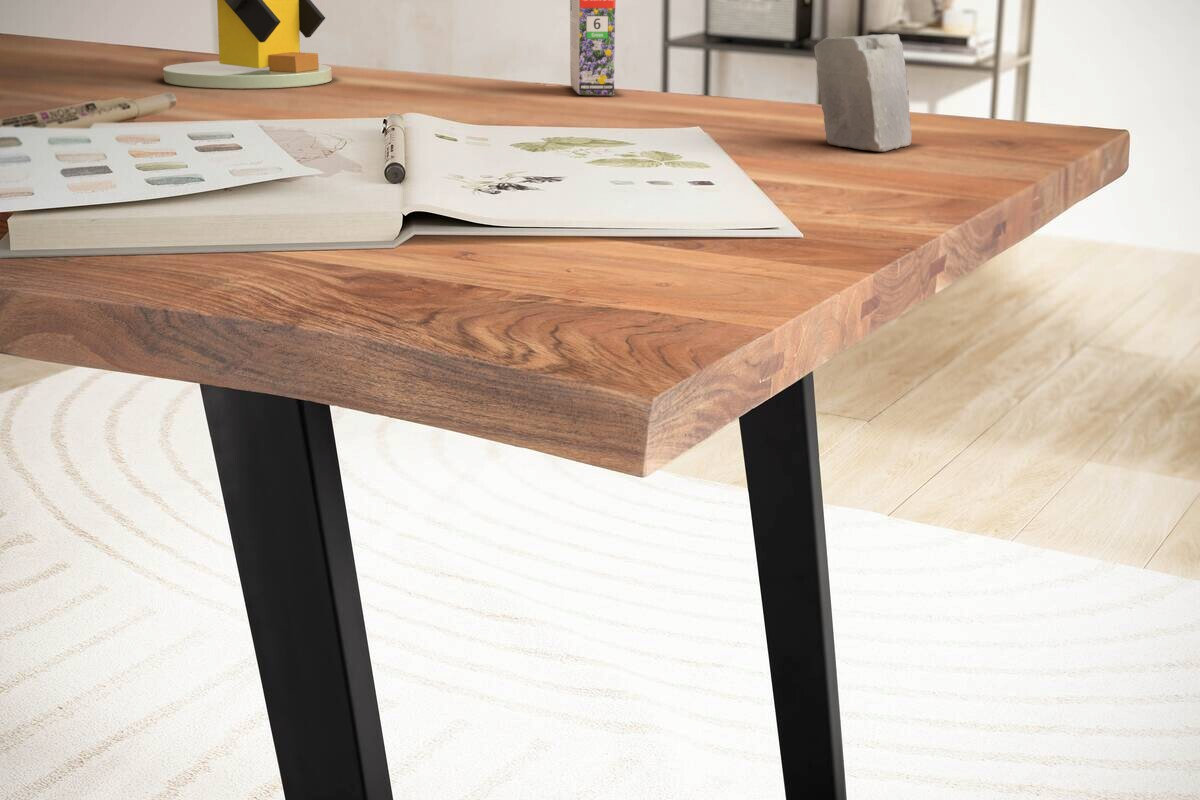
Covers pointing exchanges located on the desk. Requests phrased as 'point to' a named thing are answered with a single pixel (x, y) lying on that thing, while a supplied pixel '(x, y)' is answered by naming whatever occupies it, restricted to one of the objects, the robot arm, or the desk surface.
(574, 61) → the ink box
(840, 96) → the mineral specimen
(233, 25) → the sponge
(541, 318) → the desk surface
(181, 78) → the plate
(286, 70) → the orange brown block
